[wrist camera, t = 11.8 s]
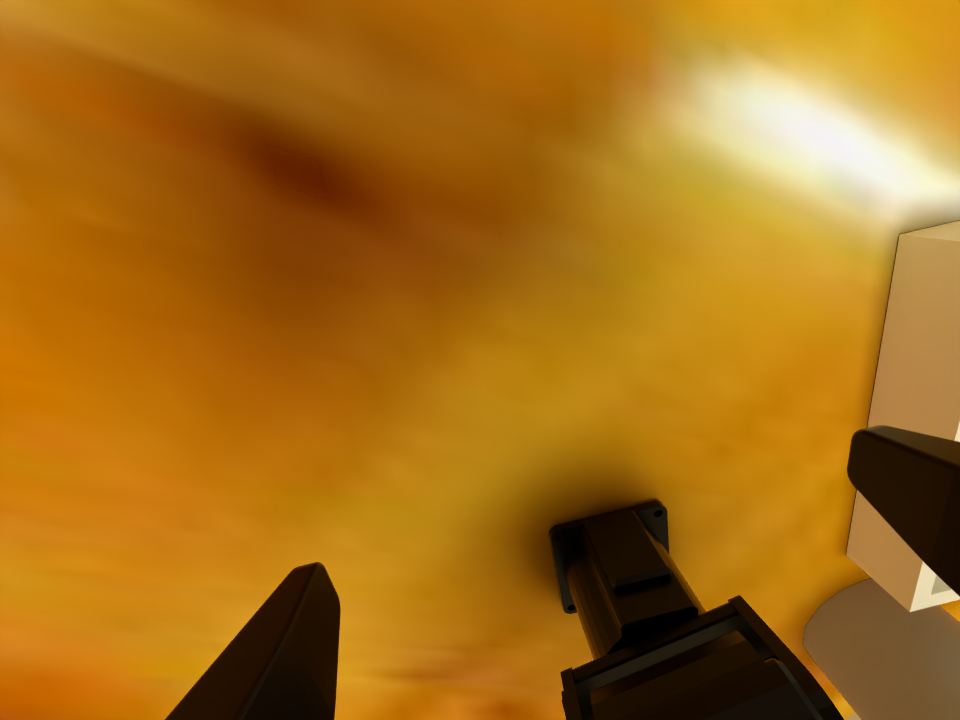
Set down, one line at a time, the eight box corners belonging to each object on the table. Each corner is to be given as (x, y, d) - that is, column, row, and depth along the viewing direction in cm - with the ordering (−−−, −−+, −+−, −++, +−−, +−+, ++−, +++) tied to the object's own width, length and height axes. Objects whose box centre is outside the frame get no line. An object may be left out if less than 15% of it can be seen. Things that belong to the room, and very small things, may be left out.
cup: (845, 569, 29) (1045, 754, 19) (942, 582, 30) (1168, 758, 21) (782, 659, 31) (929, 857, 22) (873, 666, 33) (1046, 854, 24)
